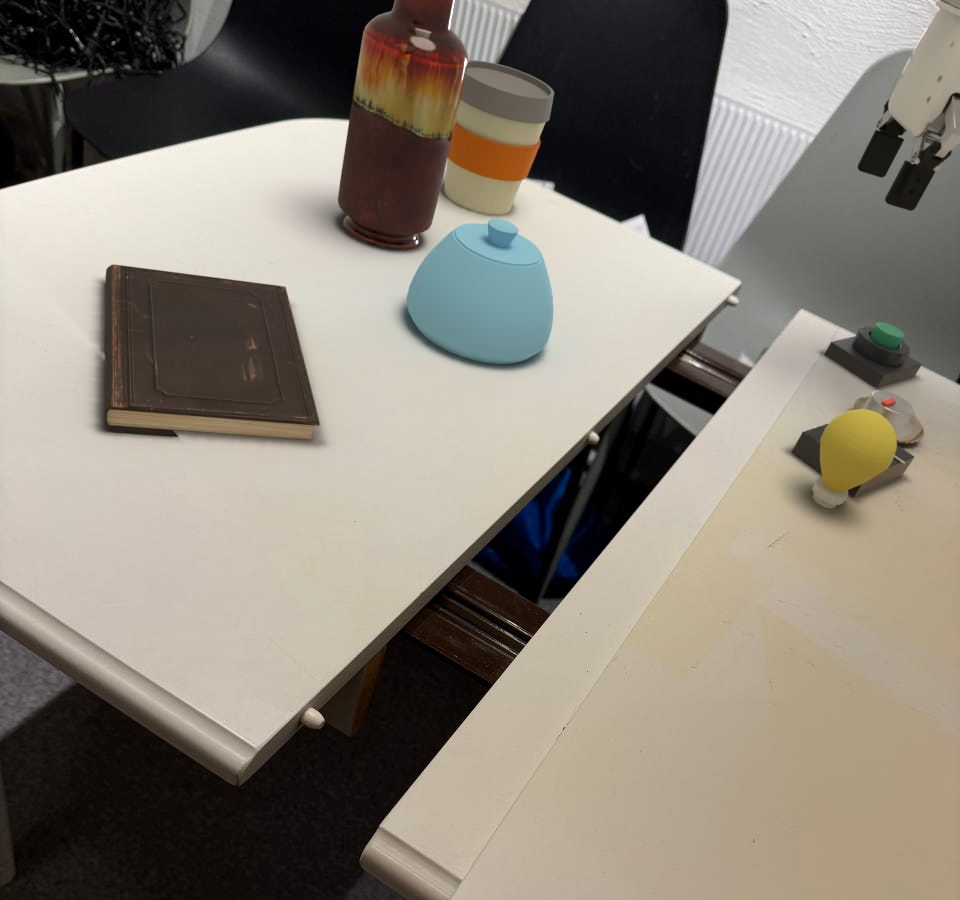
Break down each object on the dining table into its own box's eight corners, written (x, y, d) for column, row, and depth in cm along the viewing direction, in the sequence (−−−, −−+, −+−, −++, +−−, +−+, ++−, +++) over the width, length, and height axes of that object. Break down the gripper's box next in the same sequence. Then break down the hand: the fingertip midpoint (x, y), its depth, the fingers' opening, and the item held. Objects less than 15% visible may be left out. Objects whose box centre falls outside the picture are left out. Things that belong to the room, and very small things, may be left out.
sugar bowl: (571, 363, 101) (609, 256, 94) (461, 382, 92) (493, 265, 85) (484, 293, 108) (513, 188, 100) (374, 304, 99) (396, 190, 92)
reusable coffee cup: (424, 174, 131) (449, 51, 121) (511, 192, 134) (543, 74, 124) (437, 212, 122) (466, 83, 112) (531, 231, 126) (567, 107, 116)
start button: (878, 333, 121) (885, 320, 120) (902, 348, 120) (909, 335, 118) (864, 337, 119) (871, 323, 118) (887, 352, 117) (895, 338, 116)
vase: (340, 205, 116) (381, -53, 98) (430, 230, 117) (486, -19, 100) (326, 240, 108) (368, -34, 90) (423, 266, 109) (482, 2, 92)
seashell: (839, 441, 109) (913, 459, 106) (846, 417, 106) (921, 435, 103) (860, 405, 114) (930, 422, 111) (866, 382, 111) (938, 399, 108)
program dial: (863, 424, 102) (887, 384, 99) (897, 447, 100) (923, 407, 97) (841, 432, 99) (865, 390, 96) (876, 456, 97) (902, 415, 94)
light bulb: (863, 532, 92) (922, 443, 85) (799, 517, 90) (853, 426, 84) (843, 491, 97) (897, 404, 90) (782, 477, 95) (832, 388, 89)
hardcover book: (282, 308, 94) (285, 286, 92) (315, 446, 79) (319, 422, 77) (105, 287, 88) (105, 262, 87) (104, 431, 73) (104, 404, 71)
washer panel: (842, 434, 106) (857, 409, 104) (907, 479, 102) (924, 454, 100) (786, 454, 99) (801, 428, 97) (853, 502, 95) (870, 476, 93)
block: (862, 347, 126) (878, 319, 124) (912, 379, 123) (930, 351, 120) (822, 357, 120) (838, 328, 118) (874, 391, 117) (891, 361, 114)
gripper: (1058, 35, 84) (944, 230, 95) (983, -6, 96) (890, 171, 108) (981, 9, 82) (875, 210, 94) (915, -29, 95) (829, 152, 106)
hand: (883, 189), depth 101 cm, fingers open, 9 cm apart
